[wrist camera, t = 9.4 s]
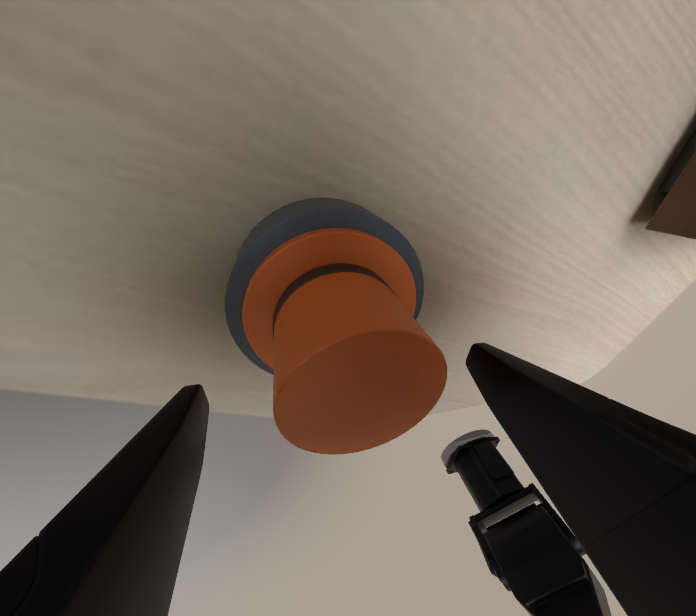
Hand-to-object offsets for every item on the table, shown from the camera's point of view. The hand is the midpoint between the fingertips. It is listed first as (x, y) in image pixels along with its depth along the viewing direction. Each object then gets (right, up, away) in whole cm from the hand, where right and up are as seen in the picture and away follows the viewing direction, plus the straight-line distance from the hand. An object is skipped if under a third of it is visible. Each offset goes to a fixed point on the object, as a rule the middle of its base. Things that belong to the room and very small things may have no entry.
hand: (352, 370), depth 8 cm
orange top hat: (-1, +2, +3) cm, 4 cm away
